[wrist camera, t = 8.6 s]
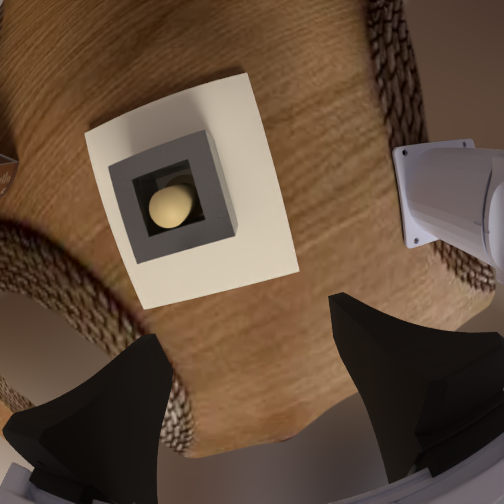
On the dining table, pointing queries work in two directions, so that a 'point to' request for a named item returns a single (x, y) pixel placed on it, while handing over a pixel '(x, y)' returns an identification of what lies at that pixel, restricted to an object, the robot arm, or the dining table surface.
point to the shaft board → (241, 180)
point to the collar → (145, 186)
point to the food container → (7, 173)
